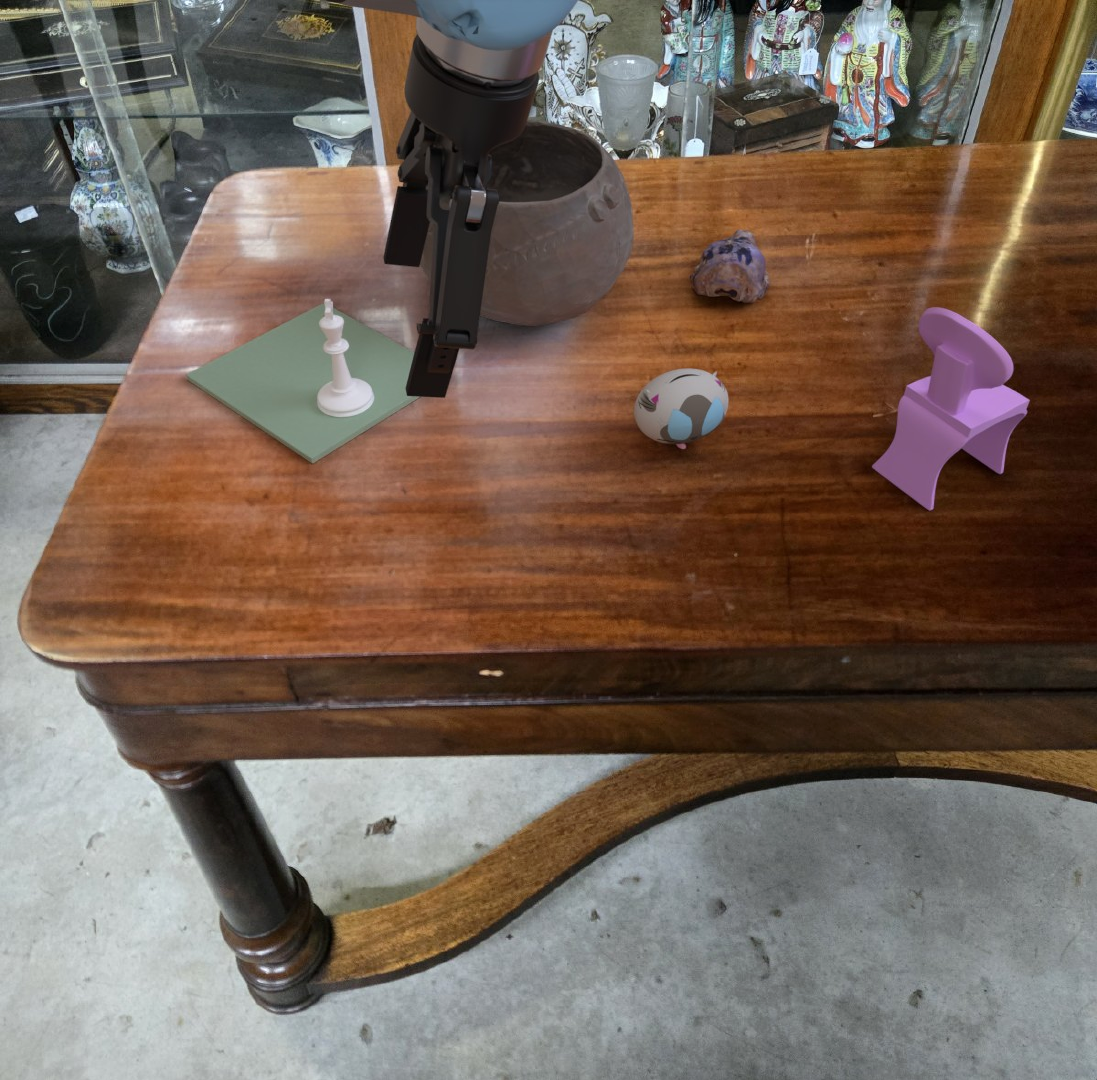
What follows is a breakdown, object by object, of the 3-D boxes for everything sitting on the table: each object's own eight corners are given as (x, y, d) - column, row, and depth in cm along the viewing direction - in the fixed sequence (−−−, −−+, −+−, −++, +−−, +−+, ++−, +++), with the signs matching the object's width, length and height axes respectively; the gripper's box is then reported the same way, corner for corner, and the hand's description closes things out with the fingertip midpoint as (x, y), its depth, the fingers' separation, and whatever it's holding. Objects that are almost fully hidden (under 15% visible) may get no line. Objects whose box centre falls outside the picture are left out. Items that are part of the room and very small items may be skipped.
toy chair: (1017, 478, 83) (1082, 315, 72) (939, 518, 80) (996, 355, 69) (938, 423, 88) (988, 265, 78) (862, 460, 85) (903, 299, 74)
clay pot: (664, 332, 98) (675, 181, 88) (453, 379, 94) (438, 225, 83) (583, 232, 113) (584, 91, 102) (396, 268, 108) (377, 124, 97)
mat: (312, 464, 86) (311, 458, 85) (187, 379, 94) (185, 374, 94) (451, 377, 94) (451, 372, 93) (324, 307, 103) (323, 302, 102)
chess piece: (376, 382, 92) (360, 283, 85) (371, 416, 89) (354, 315, 82) (321, 384, 92) (300, 285, 85) (314, 418, 89) (292, 317, 82)
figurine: (650, 475, 84) (654, 409, 79) (619, 432, 88) (622, 367, 83) (737, 451, 86) (747, 385, 81) (704, 410, 90) (711, 345, 85)
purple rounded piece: (717, 242, 110) (730, 190, 105) (785, 266, 108) (802, 215, 103) (675, 303, 102) (687, 250, 98) (748, 330, 101) (764, 277, 96)
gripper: (587, 195, 54) (490, 457, 70) (503, -46, 68) (438, 219, 84) (447, 178, 52) (380, 454, 68) (389, -69, 65) (345, 209, 81)
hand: (412, 324), depth 76 cm, fingers open, 13 cm apart
